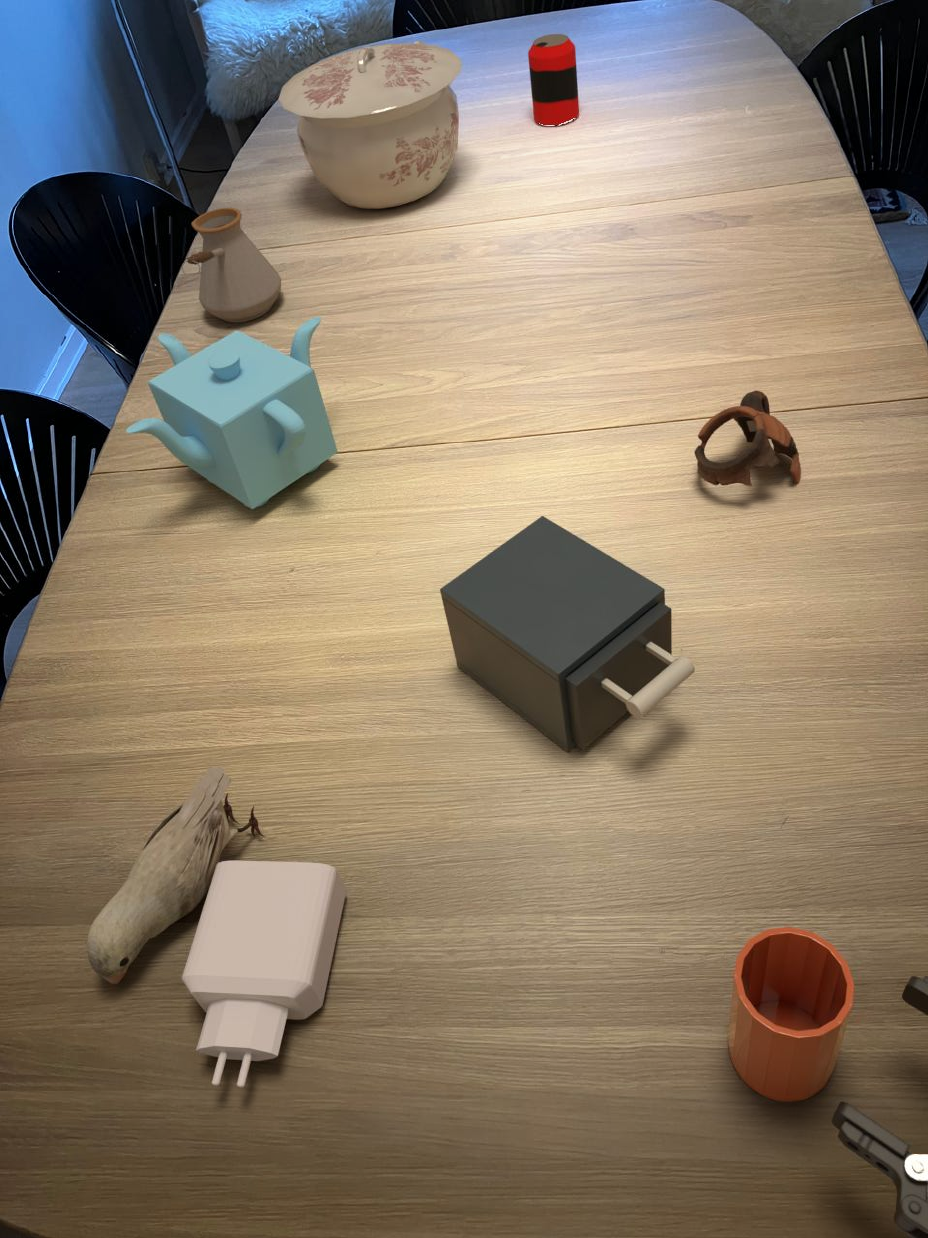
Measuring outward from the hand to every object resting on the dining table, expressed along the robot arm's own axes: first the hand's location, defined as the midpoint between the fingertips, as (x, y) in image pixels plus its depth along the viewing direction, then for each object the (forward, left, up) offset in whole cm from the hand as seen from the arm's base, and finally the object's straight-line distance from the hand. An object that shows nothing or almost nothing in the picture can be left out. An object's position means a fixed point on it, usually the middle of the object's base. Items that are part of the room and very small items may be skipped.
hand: (872, 1046), depth 57 cm
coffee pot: (+49, -106, -8) cm, 117 cm away
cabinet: (+14, -37, -8) cm, 40 cm away
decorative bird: (+45, -19, -8) cm, 49 cm away
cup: (+4, -3, -8) cm, 9 cm away
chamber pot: (+28, -141, -8) cm, 144 cm away
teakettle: (+44, -73, -8) cm, 86 cm away
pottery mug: (-8, -60, -8) cm, 61 cm away
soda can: (0, -158, -8) cm, 159 cm away
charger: (+38, -11, -8) cm, 40 cm away
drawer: (+11, -34, -7) cm, 37 cm away
